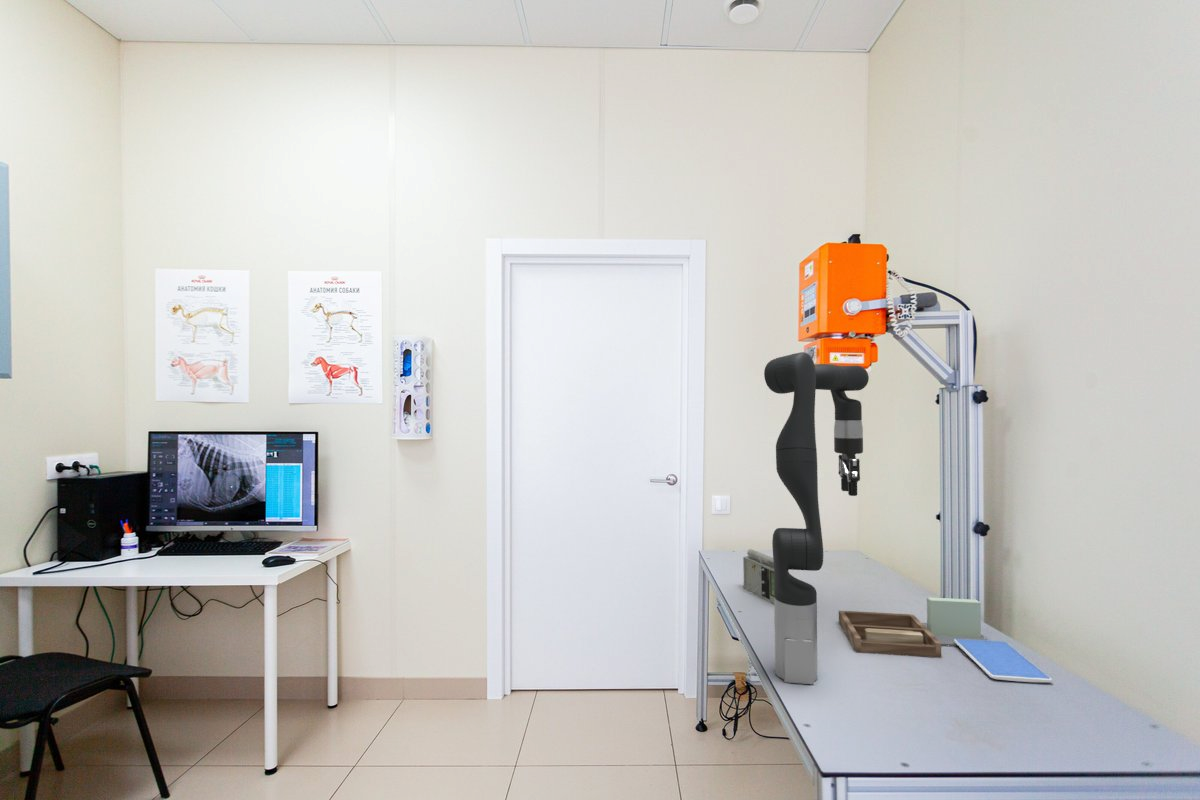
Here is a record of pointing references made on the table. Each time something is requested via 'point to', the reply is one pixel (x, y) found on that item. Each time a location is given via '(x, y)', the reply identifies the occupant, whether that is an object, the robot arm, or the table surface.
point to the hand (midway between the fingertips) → (849, 493)
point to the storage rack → (860, 621)
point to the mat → (949, 640)
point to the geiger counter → (759, 575)
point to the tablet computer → (1002, 661)
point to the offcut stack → (893, 636)
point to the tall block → (954, 617)
